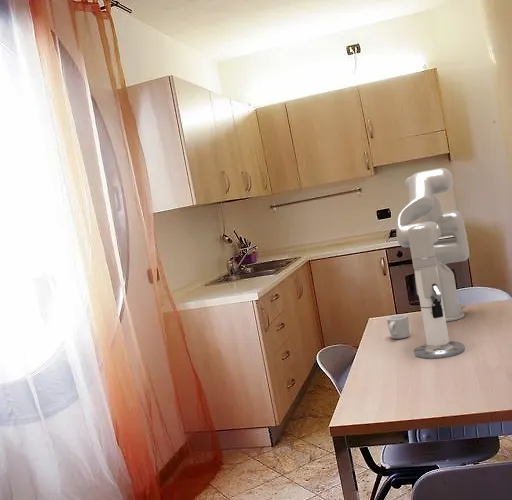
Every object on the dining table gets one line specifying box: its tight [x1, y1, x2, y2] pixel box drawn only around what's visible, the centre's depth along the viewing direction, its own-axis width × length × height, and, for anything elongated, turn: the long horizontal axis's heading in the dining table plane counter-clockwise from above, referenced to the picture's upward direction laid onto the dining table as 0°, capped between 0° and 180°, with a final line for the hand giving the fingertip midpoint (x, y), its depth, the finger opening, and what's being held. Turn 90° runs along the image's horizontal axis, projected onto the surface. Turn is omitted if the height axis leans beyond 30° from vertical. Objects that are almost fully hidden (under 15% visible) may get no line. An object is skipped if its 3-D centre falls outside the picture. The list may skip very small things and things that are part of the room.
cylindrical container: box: [414, 266, 450, 346], centre depth 204 cm, size 7×7×25 cm
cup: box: [386, 313, 410, 340], centre depth 231 cm, size 11×8×8 cm
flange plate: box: [413, 340, 466, 360], centre depth 205 cm, size 16×16×1 cm
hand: (433, 315), depth 204 cm, fingers closed on cylindrical container, 7 cm apart
